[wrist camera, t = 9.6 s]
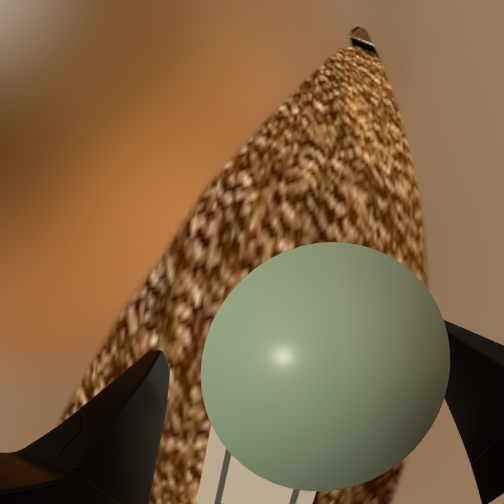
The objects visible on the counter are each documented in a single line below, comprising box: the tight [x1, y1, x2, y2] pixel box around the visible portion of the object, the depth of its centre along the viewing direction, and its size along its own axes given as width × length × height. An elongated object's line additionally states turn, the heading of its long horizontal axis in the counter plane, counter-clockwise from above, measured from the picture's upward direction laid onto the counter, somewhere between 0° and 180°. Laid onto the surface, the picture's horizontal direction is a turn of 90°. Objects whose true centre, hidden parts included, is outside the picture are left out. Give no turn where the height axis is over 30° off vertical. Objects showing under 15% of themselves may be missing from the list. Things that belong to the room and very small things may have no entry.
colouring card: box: [196, 425, 316, 504], centre depth 14 cm, size 17×8×1 cm, turn 170°
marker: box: [201, 242, 450, 491], centre depth 10 cm, size 5×5×13 cm
